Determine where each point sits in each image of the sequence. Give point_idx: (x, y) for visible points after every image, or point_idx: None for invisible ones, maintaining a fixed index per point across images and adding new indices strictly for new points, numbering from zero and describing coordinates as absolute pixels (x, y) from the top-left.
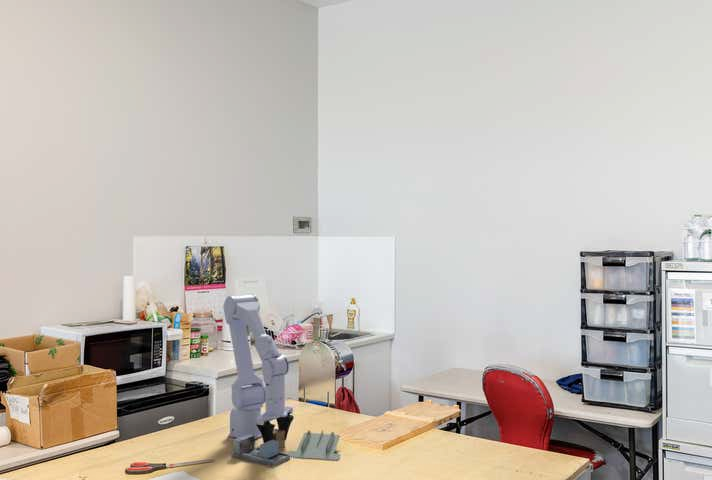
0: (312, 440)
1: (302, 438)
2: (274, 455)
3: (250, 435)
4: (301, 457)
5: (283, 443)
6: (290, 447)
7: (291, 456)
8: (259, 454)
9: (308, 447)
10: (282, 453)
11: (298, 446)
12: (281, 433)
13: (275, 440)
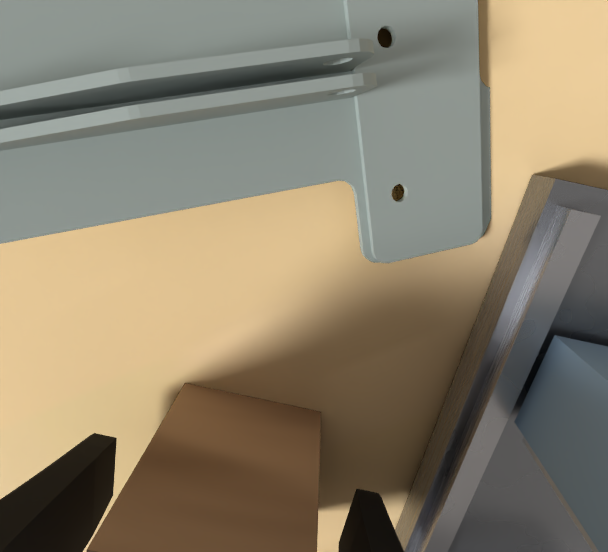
0: (3, 25)
1: (31, 228)
2: None
3: None
4: (478, 32)
5: (192, 417)
6: (167, 330)
7: (476, 182)
8: None
9: (222, 22)
10: (563, 285)
11: (245, 195)
12: (186, 544)
13: (314, 513)
